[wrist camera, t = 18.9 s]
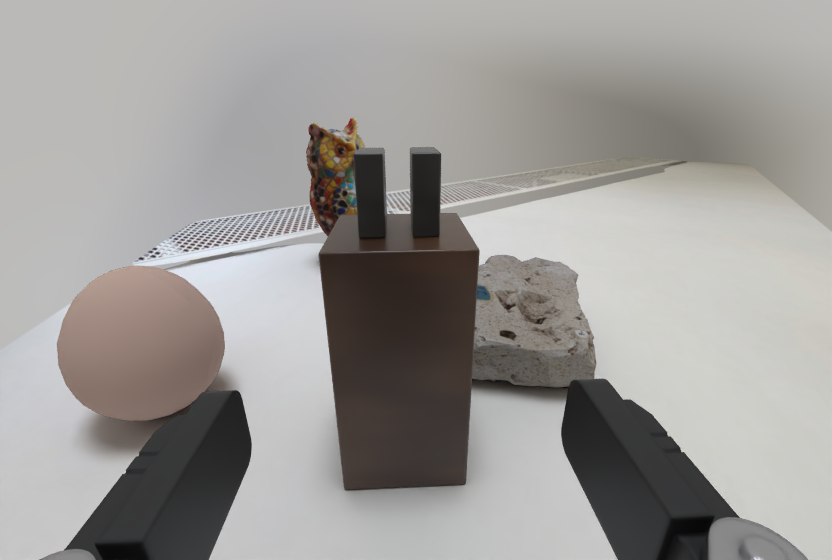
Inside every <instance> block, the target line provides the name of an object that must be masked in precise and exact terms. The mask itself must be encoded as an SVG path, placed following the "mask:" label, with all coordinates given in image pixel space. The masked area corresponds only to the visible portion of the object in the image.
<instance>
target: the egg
mask: <svg viewBox="0 0 832 560" xmlns="http://www.w3.org/2000/svg"><path fill="white" fill-rule="evenodd" d="M224 349H225V342H224V332H223V329H222V326H221V323H220V320H219V317H218V315H217V313H216V312H215V310H214V308H213V306H212V305H211V303H210V302H209V301H208V300H207V299H206V298H205V297H204V296H203V295H202V294H201V293H200V292H199V291H198V290H197V289H196V288H195V287H194V286H193V285H191V284H190V283H189V282H188V281H186V280H185V279H184V278H182V277H180V276H178V275H176V274H173V273H171V272H168V271H166V270H163V269H160V268H155V267H148V266H128V267H123V268H119V269H115V270H112V271H109V272H107V273H105V274H103V275H101V276H99V277H97V278H96V279H95V280H93V281H92V282H91V283H89V284H88V285H87V286H86V287H85V288H84V289H83V290H82V291H81V292H80V293H79V294H78V295H77V296H76V297H75V299H74V300H73V301H72V303H71V305H70V307H69V309H68V311H67V313H66V315H65V317H64V319H63V323H62V326H61V330H60V334H59V338H58V342H57V352H58V364H59V368H60V370H61V373H62V376H63V378H64V381H65V383H66V385H67V387H68V388H69V389H70V391H71V392H72V393H73V395H74V396H75V397H76V398H77V399H78V400H79V401H80V402H81V403H82V404H83V405H84V406H86V407H88V408H89V409H91V410H93V411H94V412H96V413H98V414H101V415H104V416H107V417H110V418H115V419H121V420H127V421H147V420H153V419H157V418H161V417H165V416H168V415H171V414H173V413H175V412H177V411H179V410H181V409H183V408H185V407H187V406H188V405H190V404H191V403H192V402H193V401H194V400H196V399H197V398H198V396H199V395H200V394H201V393H202V392H204V391H205V390H206V389H207V388H208V387H209V386H210V385H211V383H212V382H213V380H214V378H215V376H216V375H217V373H218V371H219V369H220V366H221V362H222V359H223V356H224Z"/></svg>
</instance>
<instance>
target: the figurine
mask: <svg viewBox="0 0 832 560" xmlns="http://www.w3.org/2000/svg"><path fill="white" fill-rule="evenodd" d="M309 134H310V135H311V138H310V141H309V144H308V148H307V151H306V153H307V162H308V164H307V165H308V168H309V171H310V173H311V176H312V178H311V190H310V205H311V207H312V210H313V212H314V215H315V218H316V220H317V222H318V223H319V225H320V227H321V228H322V230H323V231H324V233H325V234H326V235H327V236H329V234H330V233H331V231H332V229H333V227H334V225H335V224H336V222H337V220H338V218H339V217H340V215H357V206H356V191H355V175H354V160H353V154H354V153H355V152H356V151H357V150H358V149H360V148H366V147H365V145H364V143H363V141H362V139H361V138H360V136H359V135H358V134H357V122H356V120H355V119H354V118H351V119H350V121H349V124H348V125H347V126H346V127H345V129H344V130H343V131H337V130H333V129H328V130H325V129H324V128H323V127H319V126H318V124H314V123H313V124H311V125H310V126H309Z"/></svg>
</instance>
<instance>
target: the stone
mask: <svg viewBox="0 0 832 560" xmlns="http://www.w3.org/2000/svg"><path fill="white" fill-rule="evenodd" d="M577 277H578V274H577V273H576V272H574V271H573V270H571V269H570V268H569V267H568V266H566V265H564V264H562V263H561V262H553V261H548V260H544V259H540V258H536V257H535V258H533V259H530V260H527V261H523V262H521V261H520V260H518V259H517V258H515V257H513V256H509V255H496V256H491V257H490V258H488V260H487V261H486V262H485V264H483V265H480V266H479V268H478V285H477V302H476V318H475V335H474V352H473V369H472V378H473V379H478V380H487V379H489V380H492V381H496V380H506V381H509V382H511V383H512V384H514V385H523V386H543V387H569V385H570V382H571V381H572V380H580V379H594V371H595V367H596V359H595V349H594V344H593V341H592V340H593V338H594V336H593V334H592V332H591V330H590V327H589V324H588V320H587V319H586V318H585V316H584V314H583V312H582V310H581V307H580V305H579V303H578V301H577V300H578V297H579V294H578V290H577V285H576V281H577Z"/></svg>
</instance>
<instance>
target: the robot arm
mask: <svg viewBox="0 0 832 560" xmlns="http://www.w3.org/2000/svg"><path fill="white" fill-rule="evenodd" d="M561 436H562V443H563V447H564V451H565V454H566V456H567V458H568V460H569V462H570V464H571V466H572V468H573V470H574V472H575V474H576V476H577V478H578V480H579V482H580V484H581V486H582V488H583V490H584V492H585V494H586V496H587V498H588V500H589V502H590V504H591V506H592V508H593V510H594V512H595V514H596V516H597V518H598V520H599V522H600V524H601V526H602V528H603V530H604V532H605V534H606V537H607V539H608V541H609V543H610V545H611V547H612V549H613V551H614V553H615V555H616V557H617V559H618V560H808V559H807V558H806V557H805V556H804V554H802V553H801V552H800V551H799V550H798V549H797V548H796V547H795V546H794V545H792V544H791V543H790V542H789V541H787V540H786V539H785V538H783V537H782V536H780V535H779V534H777V533H775V532H774V531H772V530H770V529H769V528H766V527H764V526H762V525H760V524H758V523H755V522H752V521H749V520H746V519H742V518H740V517H739V516H738V515H737V514H736V513H735V512H734V511H733V509H732V508H731V507H730V506H729V505H728V504H727V502H726V501H725V500H724V499H723V498H722V497H721V495H720V494H719V493H718V492H717V491H716V489H715V488H714V487H713V486H712V485H711V484H710V482H709V481H708V480H707V479H706V478H705V477H704V475H703V474H702V473H701V472H700V471H699V469H698V468H697V467H696V466H695V465H694V464H693V462H692V461H691V460H690V459H689V458H688V457H687V455H686V454H685V453H684V452H681V450H680V447H679V446H678V445H677V444H676V442H675V441H674V440H673V439H672V438H671V437H670V436H669V437H668V435H667V432H666V431H665V429H664V428H663V427H662V426H661V425H660V424H659V422H658V421H657V420H656V419H655V418H654V417H653V415H652V414H650V413H649V412H647V411H646V410H645V409H643V408H642V407H640V406H639V405H637V404H636V403H635V402H633V401H632V400H623V399H622V398H621V397H620V395H619V394H618V393H617V392H616V390H615V389H614V388H613V386H612V385H611V384H610V383H609V382H608V381H607V380H606V379H580V380H572V381H571V382H570V385H569V388H568V394H567V400H566V405H565V411H564V417H563V422H562V429H561ZM251 448H252V443H251V436H250V432H249V427H248V423H247V419H246V414H245V410H244V405H243V401H242V397H241V394H240V393H239V392H238V391H236V390H234V391H206V392H202V393H201V394H200V395H199V396H198V398H197V399H196V400H195V402H194V403H193V405H192V406H191V407H190V409H189V410H188V412H187V413H186V414H185V415H176V416H175V417H174V418H173V419H171V420H170V421H169V422H167V423H166V424H165V425H164V426H162V427H161V428H160V429H158V430H157V431H156V432H155V433H154V434H153V435H152V437H151V438H150V439H149V441H148V442H147V443H146V444H145V446H144V447H143V448H142V450H141V451H140V452H139V456H138V457H135V459H134V460H133V461H132V463H131V464H130V465H129V467H128V468H127V469H126V473H125V474H122V476H121V477H120V478H119V480H118V481H117V482H116V484H115V485H114V486H113V488H112V489H111V490H110V491H109V493H108V494H107V495H106V497H105V498H104V499H103V501H102V502H101V503H100V505H99V506H98V507H97V508H96V510H95V511H94V512H93V514H92V515H91V516H90V518H89V519H88V520H87V521H86V523H85V524H84V525H83V527H82V528H81V529H80V531H79V532H78V533H77V535H76V536H75V537H74V538H73V540H72V541H71V542H70V544H69V545H68V546H67V547H66V549H65V550H64V551H60V552H57V553H54V554H51V555H49V556H46V557H44V558H42V559H40V560H209V557H210V555H211V553H212V550H213V548H214V546H215V543H216V541H217V539H218V536H219V534H220V532H221V529H222V527H223V524H224V522H225V520H226V517H227V515H228V513H229V510H230V508H231V506H232V503H233V501H234V499H235V496H236V494H237V492H238V489H239V487H240V485H241V482H242V480H243V477H244V475H245V473H246V470H247V468H248V465H249V462H250V457H251Z"/></svg>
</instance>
